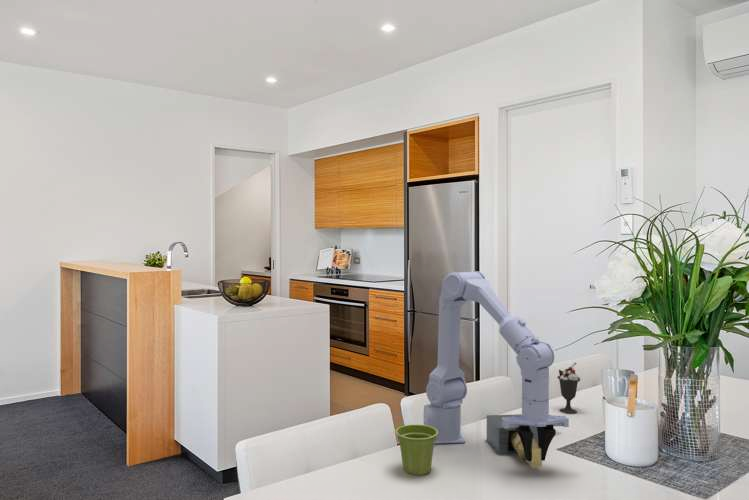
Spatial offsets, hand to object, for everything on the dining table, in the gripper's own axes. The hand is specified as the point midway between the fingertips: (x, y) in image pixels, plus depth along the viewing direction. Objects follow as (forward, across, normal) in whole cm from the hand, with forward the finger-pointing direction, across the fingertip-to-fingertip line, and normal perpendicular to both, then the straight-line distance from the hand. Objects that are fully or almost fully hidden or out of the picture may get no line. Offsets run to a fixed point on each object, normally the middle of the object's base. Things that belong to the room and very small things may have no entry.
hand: (534, 459), depth 121 cm
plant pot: (+3, -26, +3) cm, 26 cm away
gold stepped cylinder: (+2, 0, +6) cm, 6 cm away
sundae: (+3, +27, +42) cm, 50 cm away
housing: (+3, 0, +15) cm, 15 cm away
